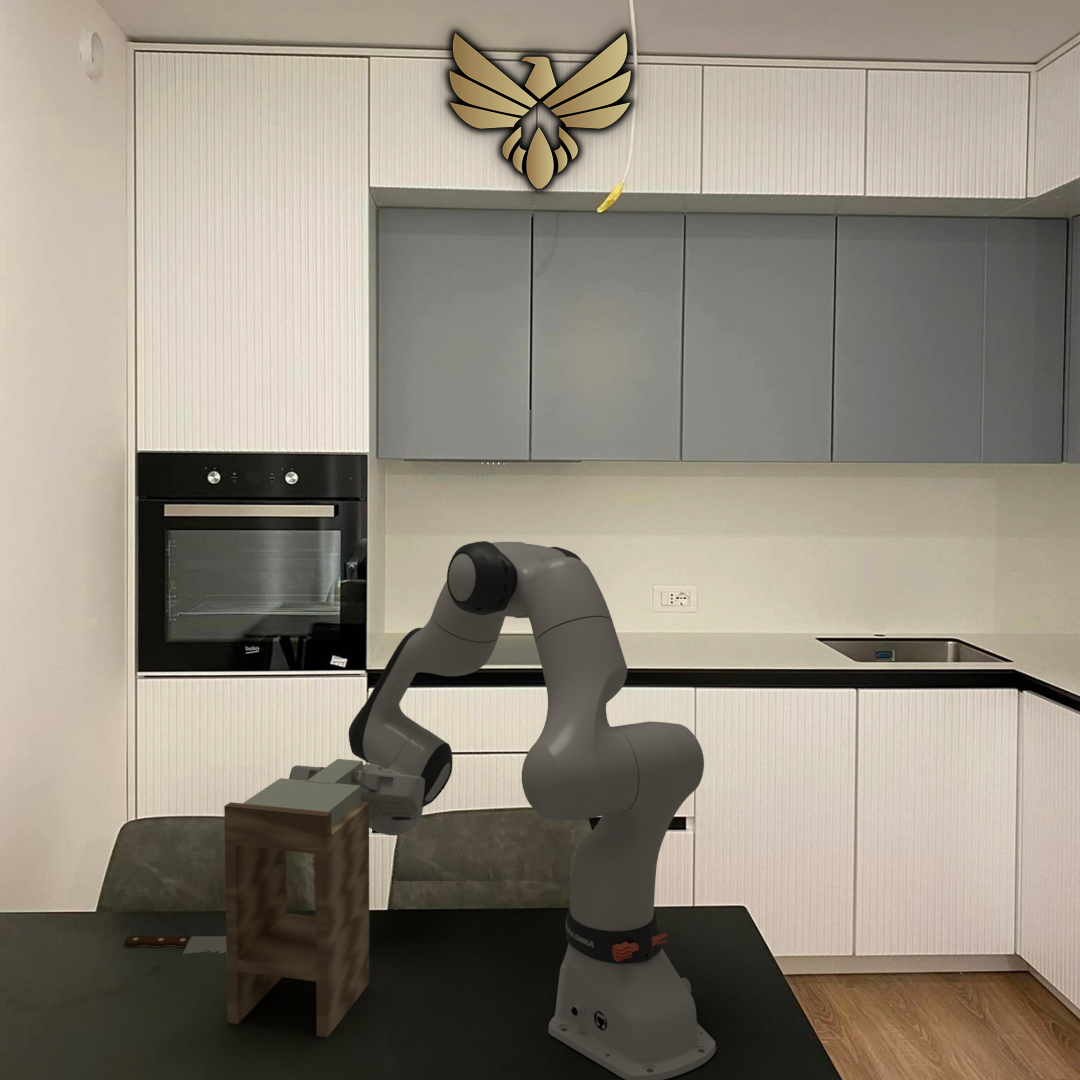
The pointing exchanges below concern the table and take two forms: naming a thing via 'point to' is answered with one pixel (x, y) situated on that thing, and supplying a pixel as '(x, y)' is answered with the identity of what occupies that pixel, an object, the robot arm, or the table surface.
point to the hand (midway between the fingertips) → (338, 774)
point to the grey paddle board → (316, 791)
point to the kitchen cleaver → (182, 942)
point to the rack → (289, 939)
